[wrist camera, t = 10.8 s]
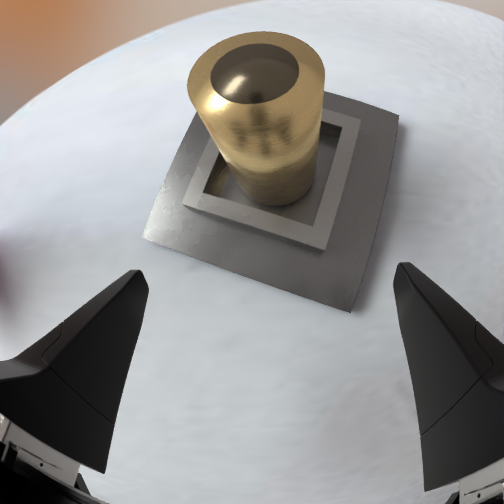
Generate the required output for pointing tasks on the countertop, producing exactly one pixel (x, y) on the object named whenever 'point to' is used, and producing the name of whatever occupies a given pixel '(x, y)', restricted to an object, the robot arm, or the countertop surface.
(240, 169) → the brass cylinder
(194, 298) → the countertop surface
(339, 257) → the flange plate
